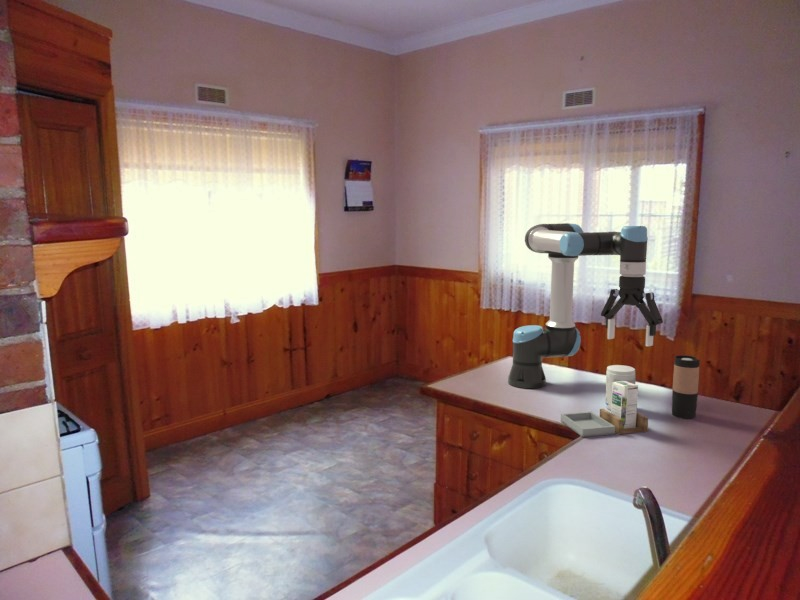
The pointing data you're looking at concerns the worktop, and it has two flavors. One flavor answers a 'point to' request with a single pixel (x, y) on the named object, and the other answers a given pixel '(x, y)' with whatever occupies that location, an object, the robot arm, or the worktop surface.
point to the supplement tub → (617, 379)
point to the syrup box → (625, 402)
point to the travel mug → (685, 386)
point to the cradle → (618, 423)
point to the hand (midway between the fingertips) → (629, 342)
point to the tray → (587, 424)
